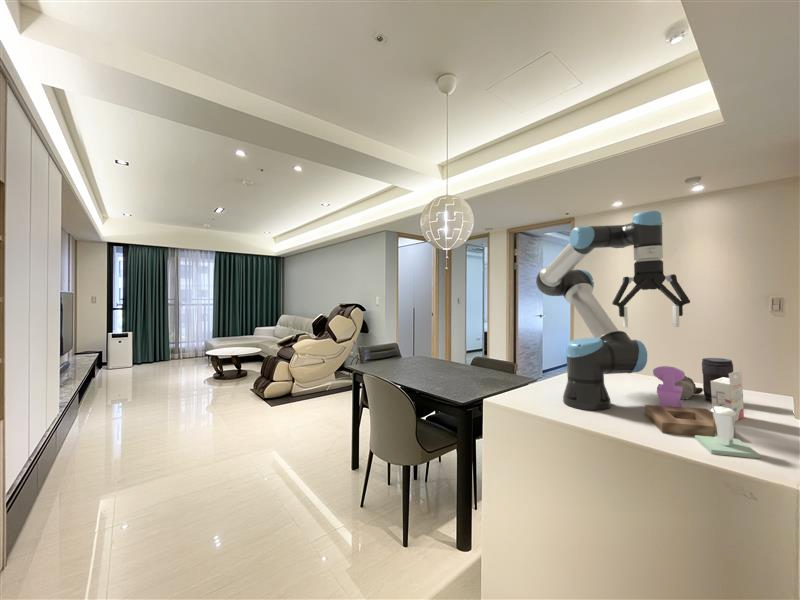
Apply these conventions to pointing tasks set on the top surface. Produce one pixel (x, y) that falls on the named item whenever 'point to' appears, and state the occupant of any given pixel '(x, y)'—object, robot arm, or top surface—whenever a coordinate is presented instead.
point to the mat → (727, 447)
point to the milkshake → (723, 425)
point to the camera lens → (714, 372)
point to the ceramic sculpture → (688, 388)
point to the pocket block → (681, 420)
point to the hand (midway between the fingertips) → (650, 326)
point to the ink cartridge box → (729, 393)
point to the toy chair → (669, 385)
